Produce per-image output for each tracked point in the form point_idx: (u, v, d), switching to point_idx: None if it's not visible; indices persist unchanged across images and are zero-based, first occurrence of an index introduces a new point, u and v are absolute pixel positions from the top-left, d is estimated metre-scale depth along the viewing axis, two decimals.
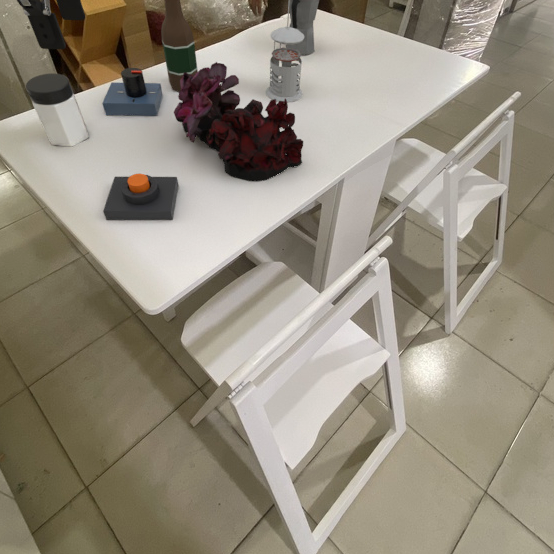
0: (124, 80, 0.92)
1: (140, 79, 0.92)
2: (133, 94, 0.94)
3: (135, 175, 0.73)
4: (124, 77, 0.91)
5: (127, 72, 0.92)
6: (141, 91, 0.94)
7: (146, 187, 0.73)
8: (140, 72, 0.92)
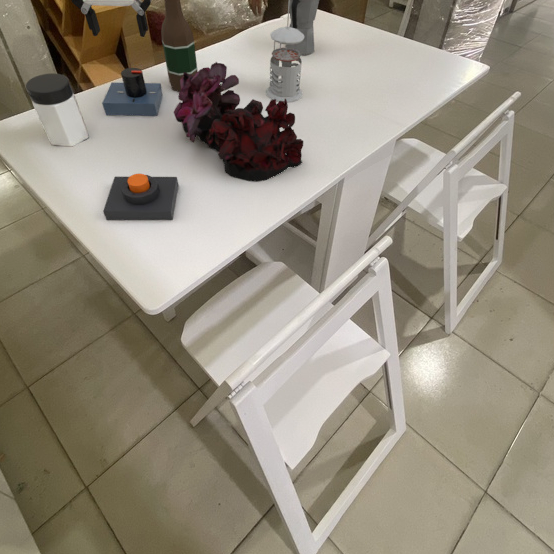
0: (124, 80, 0.92)
1: (140, 79, 0.92)
2: (133, 94, 0.94)
3: (135, 175, 0.73)
4: (124, 77, 0.91)
5: (127, 72, 0.92)
6: (141, 91, 0.94)
7: (146, 187, 0.73)
8: (140, 72, 0.92)
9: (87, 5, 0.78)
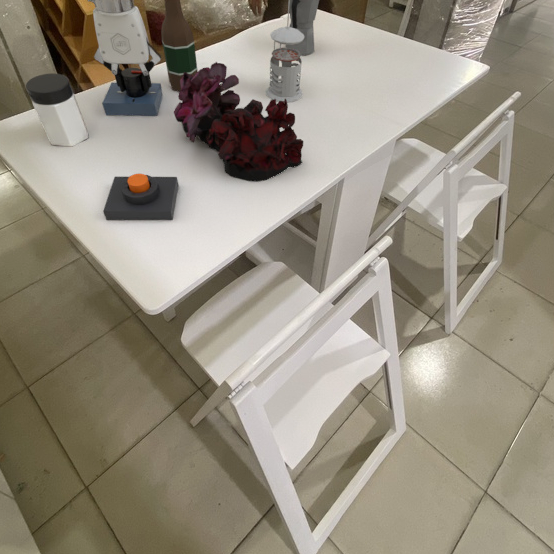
0: (124, 80, 0.92)
1: (140, 79, 0.92)
2: (133, 94, 0.94)
3: (135, 175, 0.73)
4: (124, 77, 0.91)
5: (127, 72, 0.92)
6: (141, 91, 0.94)
7: (146, 187, 0.73)
8: (140, 72, 0.92)
9: (114, 66, 0.90)
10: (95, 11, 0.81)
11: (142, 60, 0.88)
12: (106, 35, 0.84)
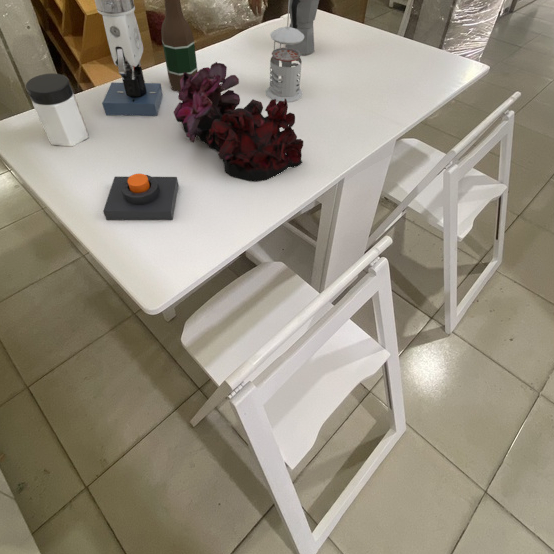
0: (139, 80, 0.92)
1: None
2: (145, 89, 0.96)
3: (135, 175, 0.73)
4: (140, 76, 0.92)
5: None
6: None
7: (146, 187, 0.73)
8: (134, 67, 0.94)
9: (133, 70, 0.89)
10: (120, 16, 0.80)
11: (142, 47, 0.92)
12: (132, 35, 0.84)
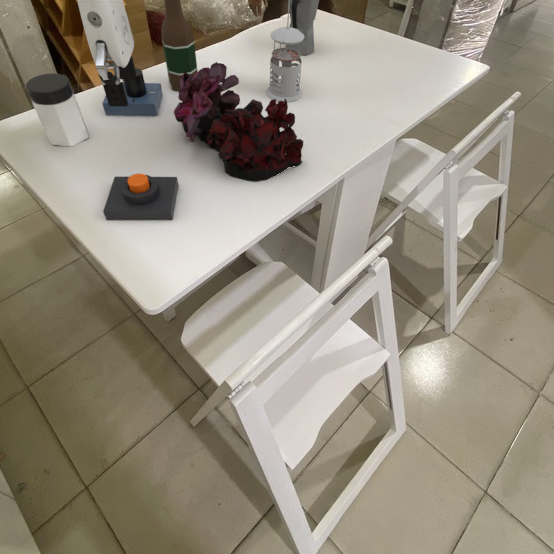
0: (139, 80, 0.92)
1: None
2: (145, 89, 0.96)
3: (135, 175, 0.73)
4: (140, 76, 0.92)
5: None
6: None
7: (146, 187, 0.73)
8: None
9: (118, 72, 0.65)
10: None
11: (133, 42, 0.69)
12: (118, 25, 0.62)
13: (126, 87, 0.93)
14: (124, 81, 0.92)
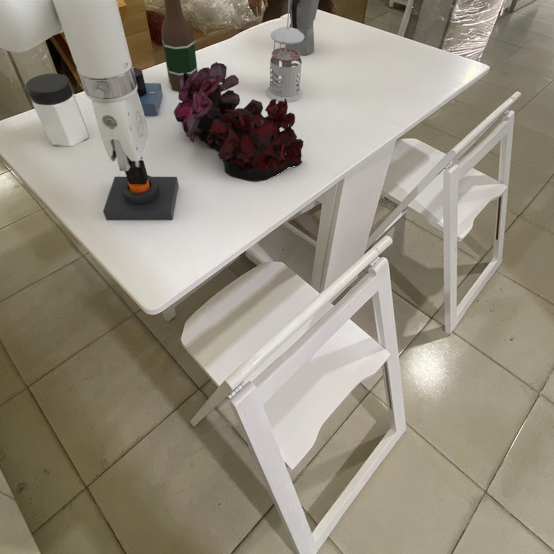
0: (139, 80, 0.92)
1: None
2: (145, 89, 0.96)
3: None
4: (140, 76, 0.92)
5: None
6: None
7: (146, 188, 0.73)
8: None
9: None
10: (116, 102, 0.57)
11: (147, 129, 0.69)
12: (133, 123, 0.61)
13: None
14: None
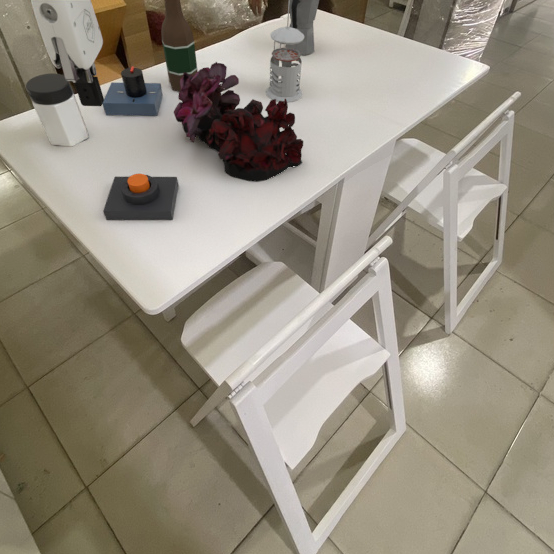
0: (139, 80, 0.92)
1: None
2: (145, 89, 0.96)
3: (135, 175, 0.73)
4: (140, 76, 0.92)
5: (130, 74, 0.92)
6: None
7: (146, 187, 0.73)
8: None
9: (88, 69, 0.59)
10: None
11: (101, 40, 0.61)
12: (79, 20, 0.53)
13: (126, 87, 0.93)
14: (124, 81, 0.92)
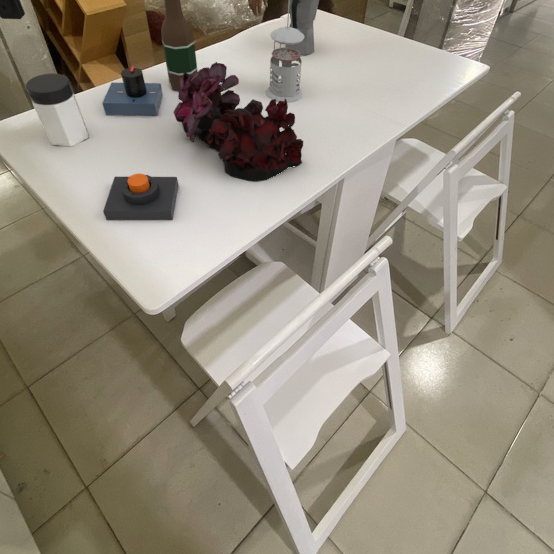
0: (139, 80, 0.92)
1: None
2: (145, 89, 0.96)
3: (135, 175, 0.73)
4: (140, 76, 0.92)
5: (130, 74, 0.92)
6: None
7: (146, 187, 0.73)
8: None
9: None
10: None
11: None
12: None
13: (126, 87, 0.93)
14: (124, 81, 0.92)
